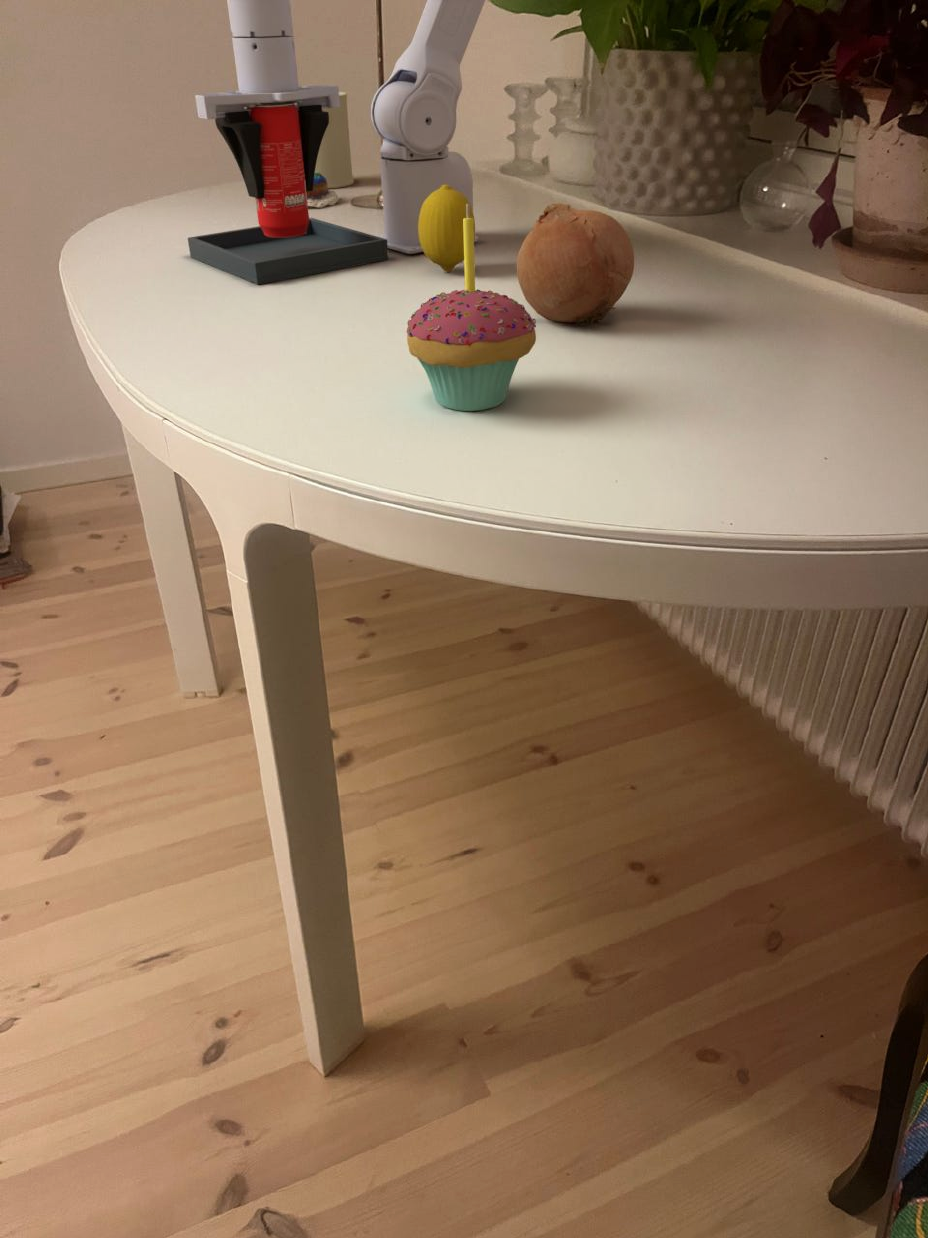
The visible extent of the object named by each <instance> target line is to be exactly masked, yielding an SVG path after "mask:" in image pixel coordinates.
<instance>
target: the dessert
mask: <svg viewBox="0 0 928 1238" xmlns="http://www.w3.org/2000/svg"><path fill="white" fill-rule="evenodd" d="M306 193H307V203H308V207H315V208H325V207H326V206H328V205H329V206H335V204H336V203H337V202H339V199H340V197H339V195H338V193H337V192H336V191H335V190H330V189H328V183H327V180H326V178H325V177H323V175H321V173H315V174H314V183H313V191H308V192H307V191H306Z"/></svg>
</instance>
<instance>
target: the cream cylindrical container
mask: <svg viewBox="0 0 928 1238" xmlns="http://www.w3.org/2000/svg"><path fill="white" fill-rule="evenodd" d="M347 99H348V94H347V92H344V91H343V92H342V91H339V101H340V108H322V111H324V112H328V113H329V124H328V126H327V129H326V131H325V133H324V136H323V139H322V142H321V145H320V148H319V152H318V157H317V162H316V167H315V173H321V175H323V177H325V178H326V180H327V183H328V190H330V189H339V188H345V187H348V186H351V185H353V184H354V183H355V180H354V175H353V167H352V157H351V142H350V128H349V114H348V100H347ZM295 104H297V103H295Z"/></svg>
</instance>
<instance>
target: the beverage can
mask: <svg viewBox="0 0 928 1238" xmlns="http://www.w3.org/2000/svg"><path fill="white" fill-rule="evenodd" d="M294 104H295V102H293V103H291V102H288V101H287V102H272V103H257V105H256V107H252V108H249V107H245V109H247V108H249V109H252V110H251V112H250V115H249V116H250V118H253V121H254V122H259V123H260V124H261V125H262V127H261V143H260V153H261V167H262V175H263V182H264V198H255V199H254V200H255V205H256V215H257V221H258V225H259V226H260V227H261V229H262V230H263V233H264V236H266V237H270V238H292V237H298V236H302V235H305V234H306V233H307V227H308V224H309V218H310V214H309V206H308V203H307V193H306V183H305V173H304V163H303V154H302V144H301V134H300V124H299V114H298V111H297V109H296V107H295V105H294Z"/></svg>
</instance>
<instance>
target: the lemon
mask: <svg viewBox="0 0 928 1238" xmlns="http://www.w3.org/2000/svg"><path fill="white" fill-rule="evenodd" d="M466 204H469V209H470V218H473V224H474V240H475V236H476V220H475V216H474V210H473V211H472V208H471V205H470V203H469V201H468V200H467V199H466V197H465V196H464V195H463V194H461V193H460V192H458V191H456V190H454V189H452V188H451V187H450V185H446V184H445V185H442V186H441V188H440V189H438V190H436V191H434V192H433V193H431V194H430V195H429V196H428V197H427V198H426V200H425V201H424V203H423V205H422V207H421V211H420V215H419V222H418V234H419V240H420V244H421V247H422V249H423V253H424V255H425V256H426V257H427V259H428V260H429V261H431V262H432V263H433V264H436V265H437V266H439V267H440V268H441V269H442V270H443V271H444V272H445V273H451V272H452V271H453V269H455V267H456V266H458V265H459V264H461V263H463V262H464V233H463V219H464V218H467V216H466Z"/></svg>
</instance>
